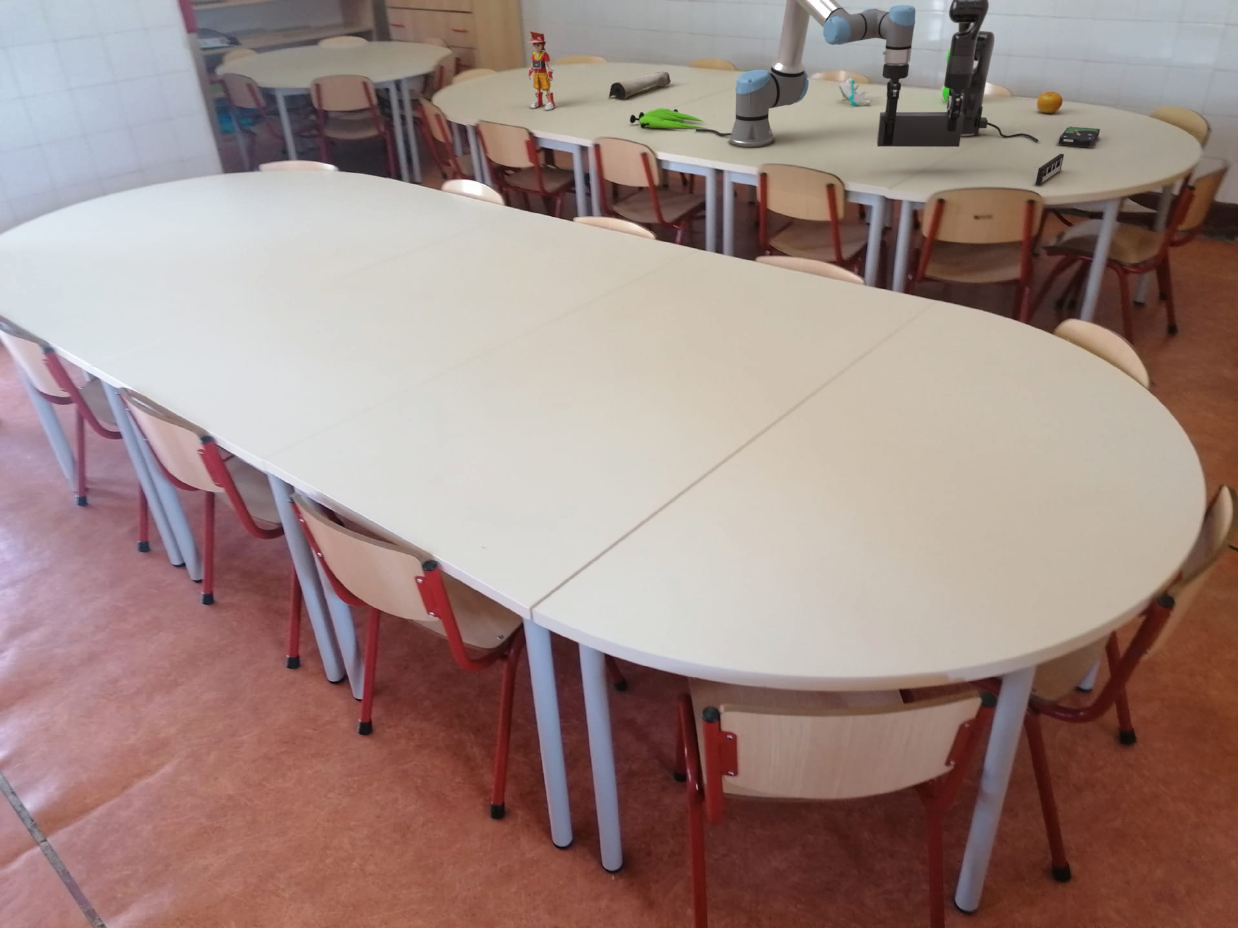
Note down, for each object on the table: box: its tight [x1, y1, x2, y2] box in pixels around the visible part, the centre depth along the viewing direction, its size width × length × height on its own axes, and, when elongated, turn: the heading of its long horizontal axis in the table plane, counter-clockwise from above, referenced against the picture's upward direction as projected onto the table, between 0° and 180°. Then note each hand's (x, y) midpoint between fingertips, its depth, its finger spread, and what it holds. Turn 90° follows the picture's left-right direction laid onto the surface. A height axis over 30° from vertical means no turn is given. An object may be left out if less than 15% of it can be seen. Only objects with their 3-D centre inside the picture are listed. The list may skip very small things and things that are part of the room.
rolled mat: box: [608, 71, 672, 101], centre depth 395 cm, size 30×9×10 cm
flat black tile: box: [1035, 153, 1065, 186], centre depth 273 cm, size 18×1×5 cm, turn 138°
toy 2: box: [629, 107, 705, 129], centre depth 347 cm, size 28×5×30 cm
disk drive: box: [1057, 126, 1101, 148], centre depth 303 cm, size 10×3×15 cm
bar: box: [876, 111, 964, 148], centre depth 280 cm, size 25×4×9 cm, turn 78°
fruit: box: [1036, 91, 1064, 114], centre depth 334 cm, size 8×8×8 cm
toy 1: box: [527, 31, 556, 111], centre depth 374 cm, size 12×9×30 cm
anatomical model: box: [838, 76, 872, 107], centre depth 360 cm, size 15×10×10 cm
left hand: (887, 142), depth 284 cm, fingers closed on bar, 4 cm apart
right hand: (950, 128), depth 278 cm, fingers open, 5 cm apart
